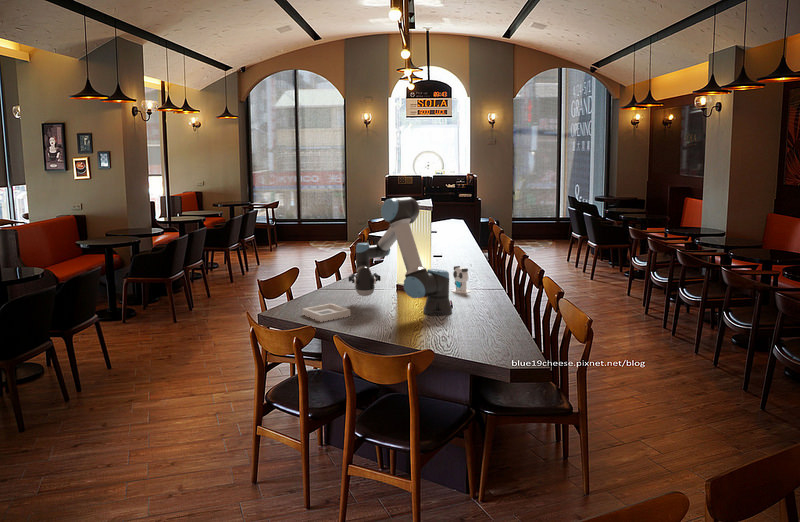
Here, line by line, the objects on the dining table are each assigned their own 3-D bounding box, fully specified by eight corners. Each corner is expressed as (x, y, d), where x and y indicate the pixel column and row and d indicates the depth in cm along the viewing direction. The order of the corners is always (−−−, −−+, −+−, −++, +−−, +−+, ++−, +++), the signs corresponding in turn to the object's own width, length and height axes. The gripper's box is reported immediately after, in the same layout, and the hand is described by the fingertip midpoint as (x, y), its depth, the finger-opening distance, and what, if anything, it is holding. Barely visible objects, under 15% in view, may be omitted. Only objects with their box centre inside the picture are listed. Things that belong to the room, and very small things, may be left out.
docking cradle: (350, 316, 329) (350, 309, 329) (321, 322, 318) (320, 315, 318) (331, 309, 343) (331, 303, 343) (302, 315, 332) (302, 308, 331)
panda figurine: (447, 290, 390) (448, 266, 387) (463, 288, 395) (464, 264, 392) (457, 294, 379) (458, 269, 377) (473, 292, 384) (474, 268, 381)
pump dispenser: (374, 292, 338) (374, 264, 335) (374, 296, 328) (374, 268, 325) (355, 292, 338) (355, 265, 335) (355, 297, 327) (354, 268, 325)
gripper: (383, 279, 350) (386, 288, 329) (343, 280, 348) (343, 289, 327) (383, 266, 349) (386, 273, 327) (343, 267, 347) (343, 275, 325)
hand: (365, 281), depth 327 cm, fingers closed on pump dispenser, 10 cm apart
